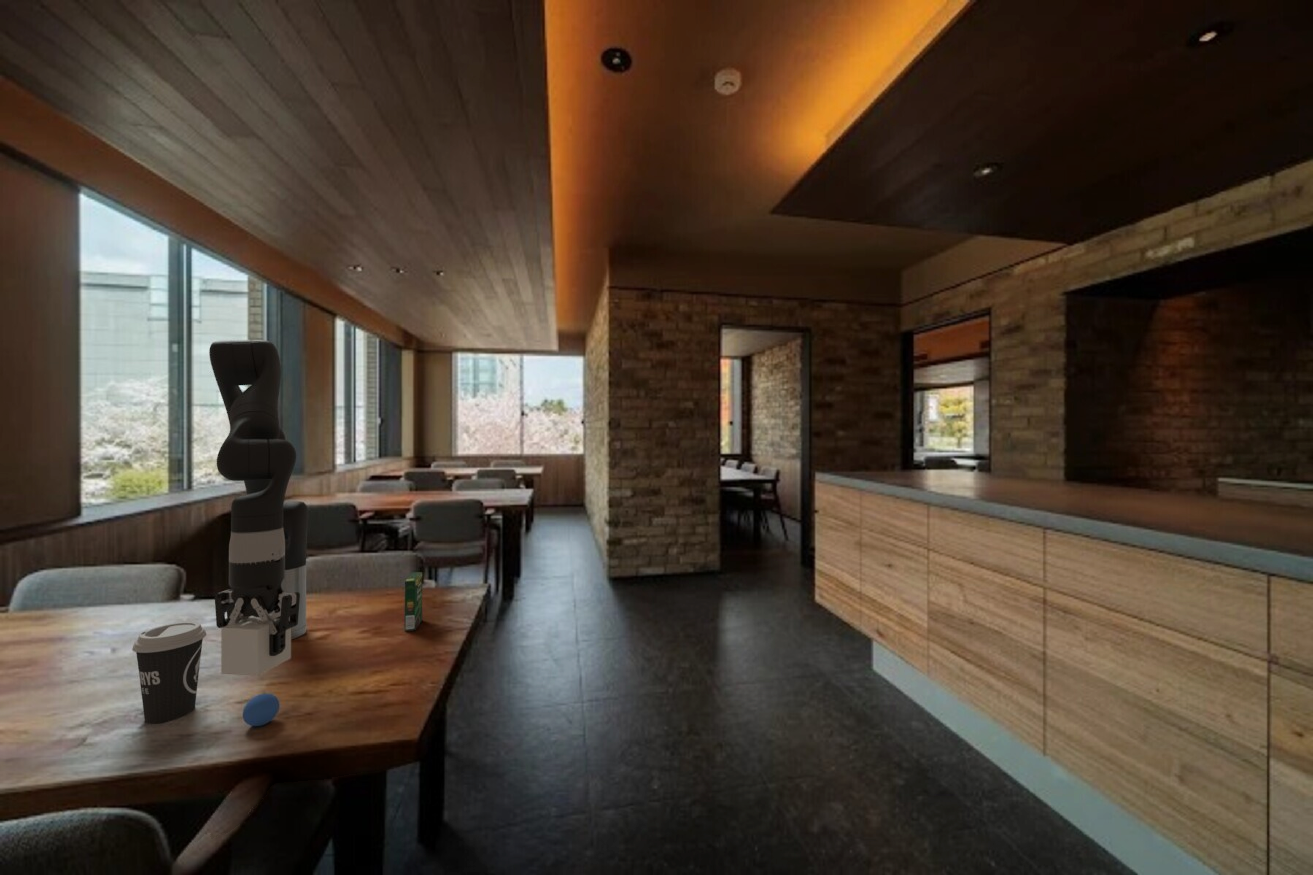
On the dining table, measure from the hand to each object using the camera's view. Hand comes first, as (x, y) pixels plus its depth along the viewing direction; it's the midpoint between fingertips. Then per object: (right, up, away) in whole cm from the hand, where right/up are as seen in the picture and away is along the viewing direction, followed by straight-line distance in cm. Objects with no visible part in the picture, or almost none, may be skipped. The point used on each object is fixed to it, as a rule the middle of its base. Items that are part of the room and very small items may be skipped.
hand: (257, 652), depth 86 cm
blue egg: (0, -10, +1) cm, 10 cm away
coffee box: (+5, -13, +46) cm, 48 cm away
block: (0, -2, 0) cm, 2 cm away
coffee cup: (-19, -13, +4) cm, 23 cm away
